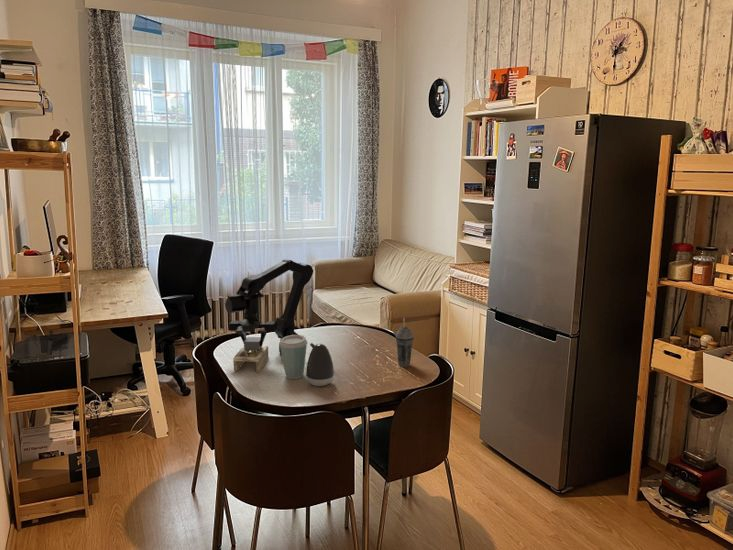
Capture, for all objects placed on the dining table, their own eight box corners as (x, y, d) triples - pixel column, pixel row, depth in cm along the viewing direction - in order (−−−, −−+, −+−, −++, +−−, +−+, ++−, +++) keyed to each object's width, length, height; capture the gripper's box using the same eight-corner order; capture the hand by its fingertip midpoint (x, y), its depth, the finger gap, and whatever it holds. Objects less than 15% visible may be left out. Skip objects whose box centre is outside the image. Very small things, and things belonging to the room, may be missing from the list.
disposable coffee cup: (300, 382, 212) (299, 343, 209) (274, 378, 216) (273, 340, 213) (312, 373, 222) (312, 335, 219) (287, 369, 226) (287, 332, 223)
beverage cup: (415, 363, 233) (416, 315, 229) (409, 369, 227) (410, 320, 223) (399, 360, 236) (399, 313, 232) (392, 366, 230) (392, 318, 226)
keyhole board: (268, 358, 238) (268, 345, 237) (259, 372, 223) (258, 358, 222) (244, 357, 239) (244, 345, 238) (233, 371, 223) (233, 358, 222)
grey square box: (262, 354, 237) (262, 337, 235) (259, 359, 231) (258, 341, 229) (248, 354, 237) (247, 337, 235) (244, 359, 231) (243, 341, 230)
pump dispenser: (322, 376, 219) (321, 338, 216) (339, 384, 211) (339, 344, 208) (300, 383, 212) (299, 343, 209) (318, 391, 204) (317, 350, 202)
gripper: (223, 313, 223) (224, 352, 226) (270, 314, 222) (272, 353, 225) (231, 306, 233) (232, 343, 237) (276, 307, 232) (277, 344, 236)
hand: (253, 346), depth 233 cm, fingers closed on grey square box, 6 cm apart
